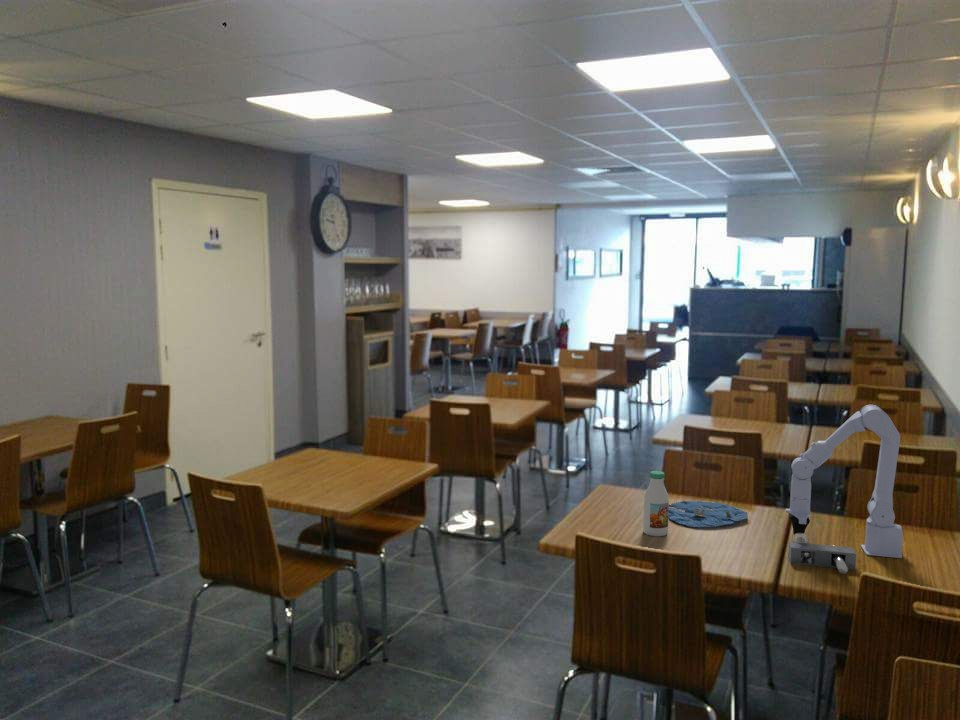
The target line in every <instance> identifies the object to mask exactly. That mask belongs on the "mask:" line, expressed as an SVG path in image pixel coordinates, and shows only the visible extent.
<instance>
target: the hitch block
mask: <svg viewBox="0 0 960 720" xmlns="http://www.w3.org/2000/svg"><path fill="white" fill-rule="evenodd" d="M830 545H831V544H830ZM830 545H828V544H827V545H826V544H818V543H797V542H793V541H788V552H787V553H788V557H787V558H788V560H789V563H790V565H791V564H793V565H802V566H803V565H804V566H812V567H820V568H821V567H822V568H823V567H824V568H831V569H832V568H834V569H838V568H837V566H836V564H835V562H834V560H833V559H831V557H832V554H841V555H842V558H843V560H844V562H845V564H846V566H847V568H848V570H851V571H852V570H853V571H855V570H856V567H857V566H856V565H857V563H856V562H857V553H856V551H855V549H854V548H853V547H852V546H851V547H850V546H840V545H837V546H830ZM801 551H809V552H811V558H810V559H805V558H803V556H802V553H801Z"/></svg>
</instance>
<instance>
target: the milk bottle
mask: <svg viewBox="0 0 960 720" xmlns="http://www.w3.org/2000/svg"><path fill="white" fill-rule="evenodd" d="M665 475H666V474H665V472H664V471H661V470H652V471H650V472H649V480H650V481H649V485H648V487H647V488H646V490H645V494H644V497H643V498H644V500H643V522H642V523H643V527H642V528H643V529H642V530H643V531H642V532H643V533H644V534H645V535H647V536H650V537H665V536H666V535H668V531H669V518H668V508H670V506H669V505H670V504H669V502H670V501H669V500H670V499H669V494H668V492H667V488H666V486H665V483H664V482H665V481H664V480H665Z"/></svg>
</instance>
